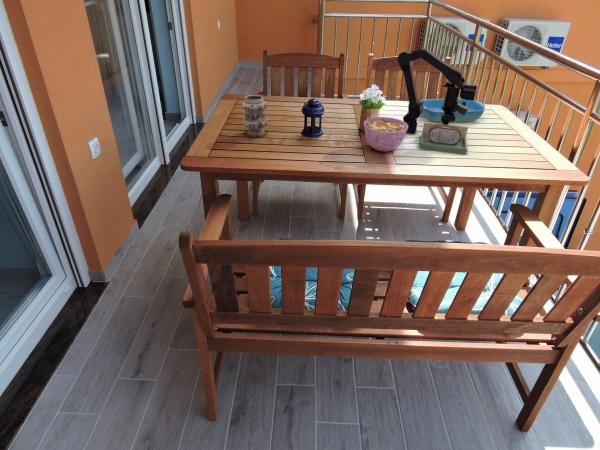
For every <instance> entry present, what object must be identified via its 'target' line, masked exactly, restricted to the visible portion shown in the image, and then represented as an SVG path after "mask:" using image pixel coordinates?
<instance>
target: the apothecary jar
mask: <svg viewBox="0 0 600 450" xmlns="http://www.w3.org/2000/svg"><path fill="white" fill-rule="evenodd" d="M267 106H268V105H267V102H266V101H265V100H264V97H263V96H262V95H258V94H250V95H246V96H245V98H244V101H243V102H242V104H241V107H242V109H243V110H244V119H243V120H242V125H243V126H244V127H245V128H246V129H248V130H246V132H245V135H246V136H248V137H252V138H259V137H263V136H265V135H266V134H267V132H266V131H265V130H264V128H265V127H266V126H268V123H269V122H268V119H267V118H266V115H265V113H266V112H265V110H266V109H267Z"/></svg>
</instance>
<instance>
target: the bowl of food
mask: <svg viewBox="0 0 600 450" xmlns="http://www.w3.org/2000/svg"><path fill="white" fill-rule="evenodd" d="M363 127H364V135H365V140H366V143H367V144H368V146H369V147H371V148H373V149H374V150H376V151H379V152H385V153H386V152H391V151H392V150H395V149H397V148H399V147H400V146H401V145H402V143H403V141H404V138H405V136H406V134H407V133H406V131H407V129H408V125H407V123H405V122H404V120H401V119H399V118H395V117H388V116H374V117H369V118H367V119H366V120H364V121H363Z"/></svg>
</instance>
